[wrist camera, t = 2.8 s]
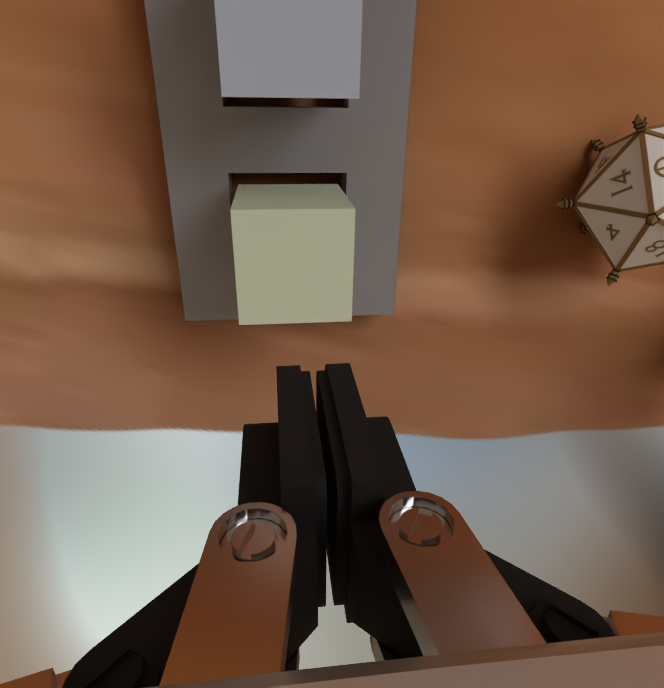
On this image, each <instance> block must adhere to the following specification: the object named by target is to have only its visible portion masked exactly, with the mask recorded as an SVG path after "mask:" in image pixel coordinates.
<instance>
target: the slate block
mask: <svg viewBox="0 0 664 688" xmlns="http://www.w3.org/2000/svg"><path fill="white" fill-rule="evenodd" d="M214 3H215V16H216V29H217V43H218V56H219V69H220V82H221V95H222V97H265V98H340V99H359V92H360V63H361V34H362V4H363V0H214Z"/></svg>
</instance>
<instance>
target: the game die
mask: <svg viewBox="0 0 664 688" xmlns="http://www.w3.org/2000/svg"><path fill="white" fill-rule="evenodd" d="M645 120H646V117H642V116H641V115H639V114H637V116H636V118H635V120H634V121H633V122H632V123H633V124H634V128H635V129H636V130H637V131H636V132H634V133H632V134H630V135H628V136H626V137H624V138H622V139H620V140H618V141H616V142H614V143H612V144H610V145H608V146H606V147H604V146H603V143H602V142H601V141H600V139H599V140H592V149H595V150H594V151H599V154H598V156H597V158H596V160H595V162H594V164H593V165H592V167H591V169H590V171H589V173H588V175H587V177H586V178H585V180H584V182H583V184H582V186H581V188H580V189H579V191H578V193H577V195H576V197H575V199H574V200H570V199H569V198H568V199H564V198H563V200H561V201H560V202H559V203H557V204H556V205H557V206H559V207H561V208H562V209H565V208H566V209H568V208H570V207H574V209H575V210H576V212H577V214H578V215H579V217H580V218H581V220H582V221H583V223H584V224H585V225H583V226H581V228H580V231H579V232H582V233H584V234H586V233H587V232H588V233H589V232H590V234H591V235H592V237H593V238H594V240H595V242H596V243H597V245H598V246H599V248H600V249H601V251H602V253H603V254H604V256H605V257H606V259H607V260H608V262H609V263H610V265H611V267H612V268H613V271H612V272H611V273H609V275H608V277H606V278H607V283H608V286H609V285H611V284H613V283H614V282H617V278H619V276H618V275H619V272H621V271H626V270H632V269H637V268H643V267H649V266H654V265H660V264H664V125H659V126H653V127H648V128H645V126H646V124H647V122H646V121H645Z"/></svg>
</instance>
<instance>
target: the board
mask: <svg viewBox="0 0 664 688" xmlns="http://www.w3.org/2000/svg"><path fill="white" fill-rule="evenodd" d="M144 4H145V12H146V20H147V27H148V35H149V43H150V51H151V58H152V66H153V74H154V82H155V90H156V97H157V105H158V113H159V121H160V128H161V136H162V144H163V152H164V159H165V167H166V175H167V183H168V190H169V198H170V206H171V214H172V222H173V229H174V237H175V245H176V253H177V260H178V268H179V276H180V284H181V291H182V299H183V307H184V315H185V321H205V320H236V319H239V317H238V304H237V291H236V278H235V265H234V252H233V239H232V226H231V213H230V209H231V206H232V203H233V193H232V179H231V173H342V181H341V189H342V191H343V192H344V193H345V195H346V196H347V197H348V199H349V200H350V202H351V203H352V204H353V206H354V207H355V209H356V210H355V239H354V269H353V298H352V316H359V315H390V314H394V301H395V287H396V274H397V261H398V247H399V234H400V220H401V207H402V193H403V180H404V167H405V153H406V140H407V126H408V113H409V99H410V86H411V73H412V59H413V46H414V32H415V19H416V5H417V0H363V4H362V34H361V63H360V92H359V99H343V107H304V106H226V97H222V95H221V82H220V69H219V56H218V43H217V29H216V16H215V3H214V0H144Z"/></svg>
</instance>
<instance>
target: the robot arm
mask: <svg viewBox="0 0 664 688" xmlns="http://www.w3.org/2000/svg"><path fill="white" fill-rule="evenodd" d="M276 367H277V396H278V422H277V423H259V424H244V428H243V440H242V454H241V455H242V456H241V469H240V482H239V496H238V506H236V507H234V508H232V509H230V510H228V511H227V512H225V513H223V514H222V515H221V516H220V517H219V518H218V519H217V520H216V521H215V523H214V524H213V527H212V528H211V530H210V532H209V535H208V538H207V541H206V544H205V547H204V551H203V553H202V557H201V559H200V563H199V564H197V565H196V566H195V567H194V568H192V569H191V570H190V571H189V572H187V573H186V574H185V575H184V576H182V577H181V578H180V579H179V580H177V581H176V582H175V583H174V584H172V585H171V586H170V587H169V588H167V589H166V590H165V591H163V592H162V593H161V594H160V595H159V596H157V597H156V598H155V599H154V600H152V601H151V602H150V603H148V604H147V605H146V606H145V607H143V608H142V609H141V610H140V611H139V612H137V613H136V614H135V615H134V616H132V617H131V618H130V619H128V620H127V621H126V622H125V623H124V624H122V625H121V626H120V627H118V628H117V629H116V630H115V631H113V632H112V633H111V634H110V635H109V636H107V637H106V638H105V639H103V640H102V641H101V642H100V643H98V644H97V645H96V646H95V647H93V648H92V649H91V650H90V651H89V652H88V653H87V654H86V655H85V656H83V657H82V658H81V660H79V661H78V662H77V663H76V664H75V666H74V667H73V669H72V670H69V671H66V672H63V673H60V674H57V675H55V673H54V670H53V668H51V669H47V670H44V671H41V672H38V673H35V674H31V675H28V676H25V677H22V678H19V679H15V680H12V681H9V682H6V683H3V684H0V688H664V617H662V616H654V615H645V614H636V613H629V612H620V611H611V610H610V612H609V615H608V617H602V616H600V615H599V614H598V613H597V612H596V611H595V610H594V609H592V608H591V607H589V606H587V605H586V604H585V603H583V602H581V601H580V600H578V599H576V598H574V597H572V596H570V595H569V594H567V593H565V592H563V591H561V590H559V589H557V588H556V587H554V586H552V585H550V584H548V583H546V582H544V581H542V580H541V579H538V578H537V577H535V576H533V575H531V574H529V573H527V572H526V571H524V570H522V569H520V568H518V567H516V566H514V565H513V564H511V563H509V562H507V561H505V560H503V559H501V558H499V557H497V556H495V555H494V554H492V553H490V552H488V551H486V550H484V549H483V547H482V546H481V544H480V543H479V541H478V540H477V538H476V537H475V535H474V534H473V532H472V531H471V529H470V528H469V527H468V525H467V523H466V522H465V520H464V519H463V517H462V516H461V514H460V513H459V512H458V511H457V510H456V508H455V507H454V506H453V505H452V504H451V503H449V502H448V501H446V500H444V499H443V498H442V497H439V496H436V495H434V494H431V493H428V492H421V491H416V488H415V486H414V483H413V481H412V478H411V476H410V473H409V470H408V468H407V465H406V462H405V460H404V457H403V454H402V452H401V449H400V446H399V444H398V441H397V438H396V436H395V433H394V430H393V428H392V425H391V422H390V420H389V418H388V417H368V418H366V415H365V411H364V408H363V405H362V402H361V399H360V395H359V392H358V389H357V386H356V382H355V379H354V376H353V373H352V369H351V366H350V364H349V363H343V364H326V365H325V370H323V371H317V374H316V409H315V402H314V396H313V389H312V383H311V376H310V371H301V369H300V365H297V366H276ZM326 549H327V557H328V564H329V572H330V579H331V587H332V595H333V602H334V605H344V607H345V614H346V621H347V623H351V622H353V623H355V624H356V625H357V626H359V627H360V628H362V629H363V630H364V631H366V632H367V633H368V634H370V642H371V648H372V652H373V655H374V658H375V661H376V662H367V663H358V664H349V665H339V666H330V667H321V668H313V669H303V670H299V659H300V658H299V657H300V656H299V647H300V646H301V644H302V643H303V642H304V641H305V640H306V639H307V638H308V637H309V635H310V634H311V633H312V632H313V631H314V630H315V629H316V627H317V626H318V607H323V606H326Z"/></svg>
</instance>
